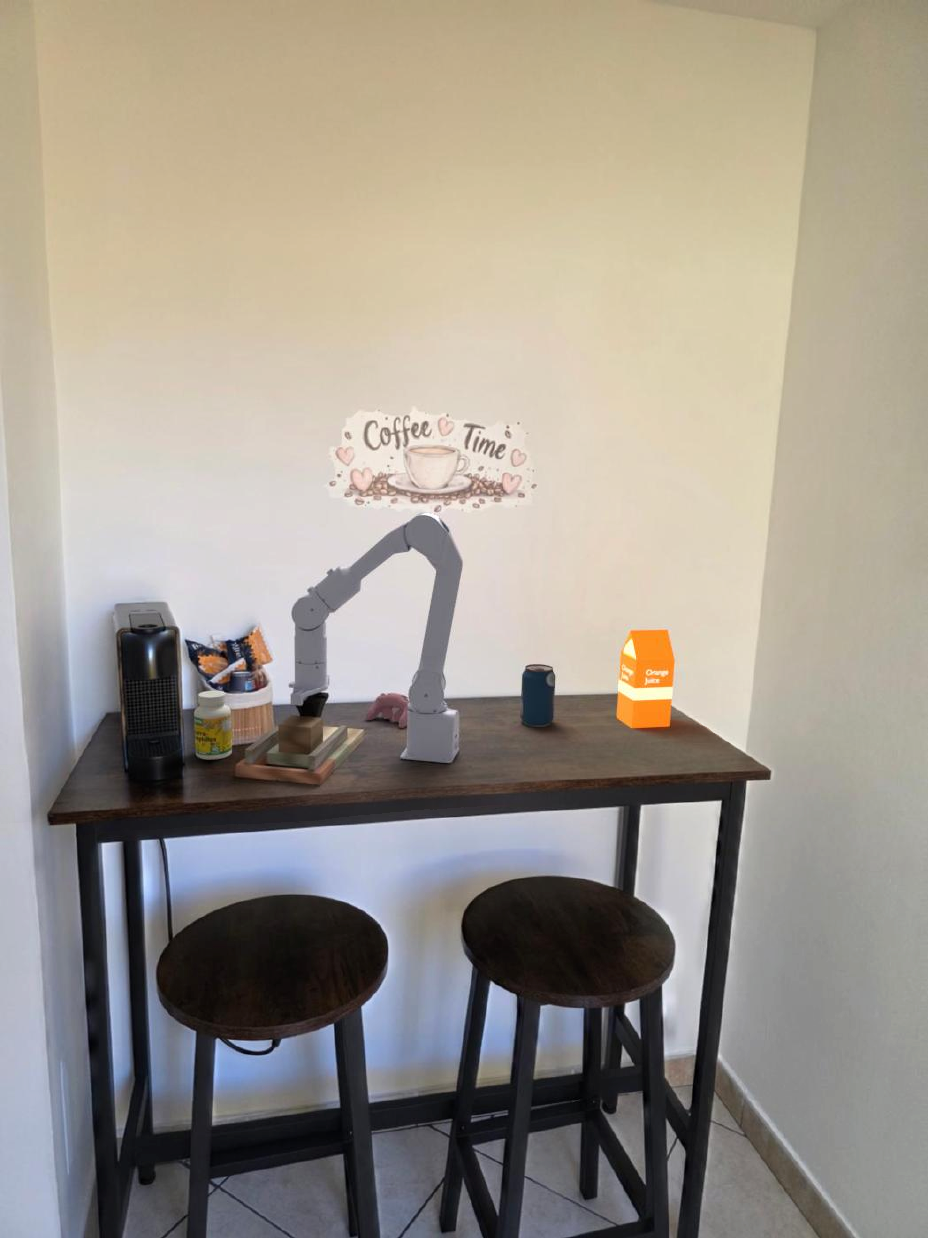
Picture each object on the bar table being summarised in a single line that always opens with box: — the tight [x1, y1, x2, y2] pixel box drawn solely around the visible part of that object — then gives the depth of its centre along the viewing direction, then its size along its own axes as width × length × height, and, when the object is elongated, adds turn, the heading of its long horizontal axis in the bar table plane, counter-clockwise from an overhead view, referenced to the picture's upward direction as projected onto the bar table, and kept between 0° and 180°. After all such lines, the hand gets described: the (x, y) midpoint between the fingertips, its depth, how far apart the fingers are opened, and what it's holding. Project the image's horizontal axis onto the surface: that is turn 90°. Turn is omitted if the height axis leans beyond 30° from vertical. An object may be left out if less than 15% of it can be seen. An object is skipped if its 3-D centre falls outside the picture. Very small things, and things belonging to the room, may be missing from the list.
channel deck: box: [234, 724, 365, 786], centre depth 149 cm, size 15×24×4 cm, turn 170°
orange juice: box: [616, 629, 676, 729], centre depth 175 cm, size 8×9×20 cm
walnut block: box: [277, 714, 324, 755], centre depth 148 cm, size 6×6×5 cm
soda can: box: [519, 663, 556, 728], centre depth 173 cm, size 7×7×12 cm
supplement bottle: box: [193, 690, 233, 761], centre depth 148 cm, size 6×6×11 cm
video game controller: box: [366, 692, 410, 729], centre depth 172 cm, size 10×5×7 cm, turn 58°
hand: (310, 732), depth 152 cm, fingers closed
